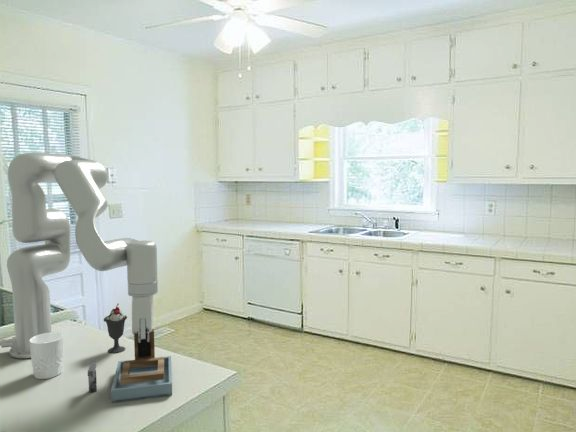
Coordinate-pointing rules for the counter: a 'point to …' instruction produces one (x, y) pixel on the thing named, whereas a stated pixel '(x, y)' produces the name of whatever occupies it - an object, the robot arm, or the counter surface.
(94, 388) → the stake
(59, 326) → the counter surface
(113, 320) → the sundae
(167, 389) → the tray
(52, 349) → the white cup
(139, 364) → the ring
